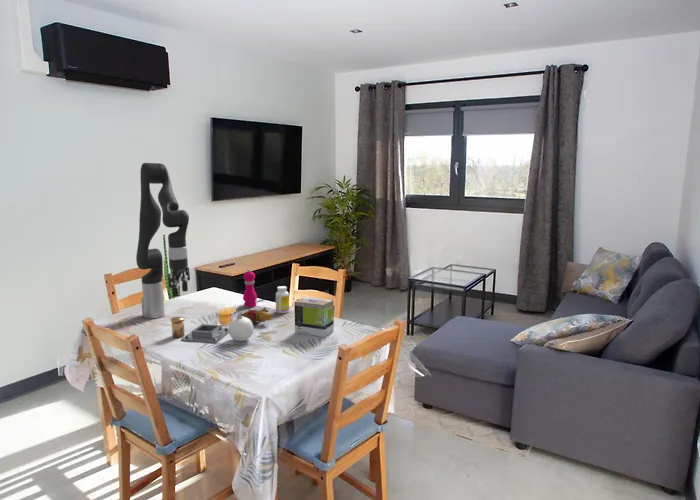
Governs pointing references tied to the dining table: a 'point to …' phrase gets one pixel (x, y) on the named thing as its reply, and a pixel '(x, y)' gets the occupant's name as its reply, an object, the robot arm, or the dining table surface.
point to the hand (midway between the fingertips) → (180, 293)
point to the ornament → (240, 328)
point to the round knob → (177, 327)
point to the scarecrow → (257, 315)
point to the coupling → (207, 334)
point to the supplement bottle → (282, 300)
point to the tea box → (314, 316)
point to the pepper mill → (249, 289)
